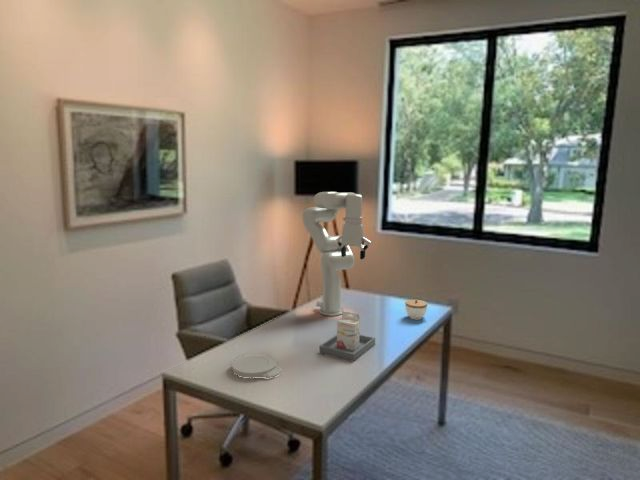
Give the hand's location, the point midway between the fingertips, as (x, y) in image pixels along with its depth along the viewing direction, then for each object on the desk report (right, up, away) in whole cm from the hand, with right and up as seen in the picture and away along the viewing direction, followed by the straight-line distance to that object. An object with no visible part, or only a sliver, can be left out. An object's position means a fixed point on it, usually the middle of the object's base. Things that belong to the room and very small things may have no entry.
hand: (352, 257), depth 225 cm
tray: (-4, -38, -21) cm, 43 cm away
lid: (-39, -42, -41) cm, 70 cm away
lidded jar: (+33, -31, +18) cm, 48 cm away
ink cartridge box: (-3, -37, -20) cm, 43 cm away
